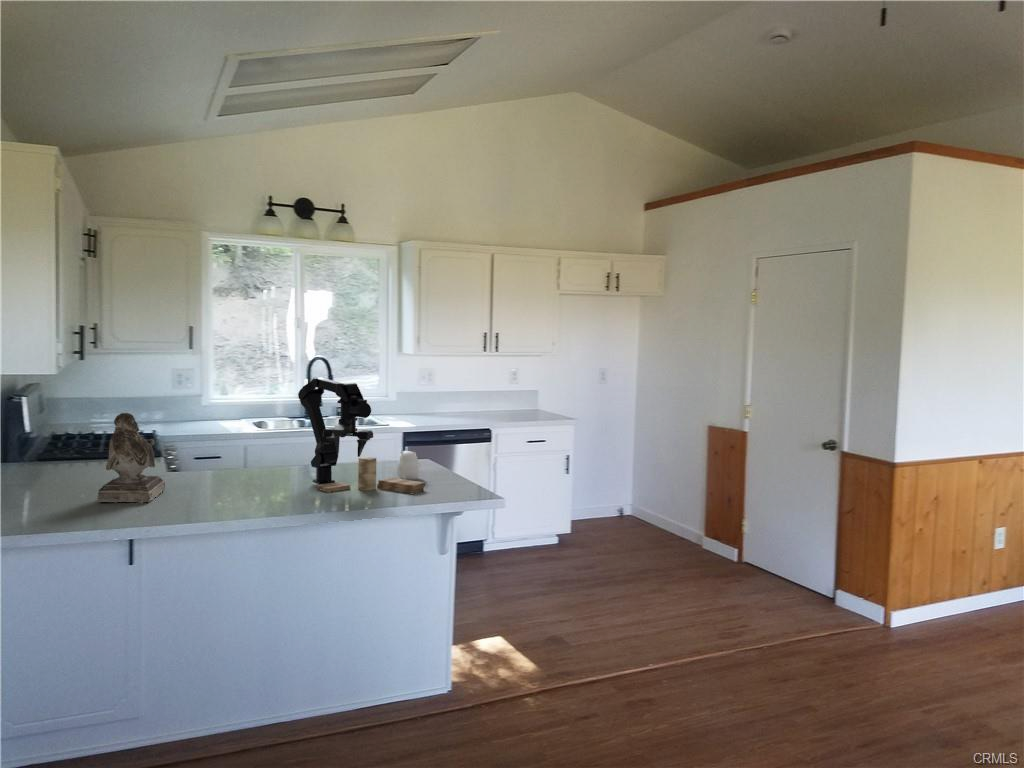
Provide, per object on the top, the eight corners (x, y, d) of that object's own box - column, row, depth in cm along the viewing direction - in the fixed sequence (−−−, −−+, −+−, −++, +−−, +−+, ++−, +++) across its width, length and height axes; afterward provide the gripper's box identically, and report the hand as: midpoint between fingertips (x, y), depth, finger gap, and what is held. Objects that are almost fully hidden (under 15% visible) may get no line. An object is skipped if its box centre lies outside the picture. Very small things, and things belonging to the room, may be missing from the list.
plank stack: (376, 488, 288) (377, 480, 288) (388, 485, 295) (388, 477, 294) (413, 494, 280) (413, 485, 280) (424, 490, 287) (425, 482, 286)
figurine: (415, 483, 300) (416, 453, 299) (392, 481, 302) (393, 452, 301) (423, 478, 310) (423, 449, 309) (401, 476, 312) (401, 448, 311)
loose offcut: (317, 489, 284) (317, 485, 283) (340, 485, 291) (340, 481, 290) (326, 492, 279) (326, 488, 279) (349, 489, 286) (350, 484, 286)
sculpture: (149, 503, 255) (148, 416, 253) (96, 504, 252) (95, 416, 250) (165, 491, 273) (164, 410, 271) (116, 491, 271) (115, 409, 268)
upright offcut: (358, 489, 286) (358, 458, 285) (365, 486, 290) (366, 456, 289) (368, 490, 284) (368, 459, 283) (375, 488, 288) (376, 458, 287)
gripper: (315, 416, 280) (315, 457, 281) (360, 419, 275) (360, 461, 276) (330, 413, 291) (330, 453, 292) (374, 416, 286) (373, 456, 287)
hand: (347, 455), depth 287 cm, fingers open, 9 cm apart
